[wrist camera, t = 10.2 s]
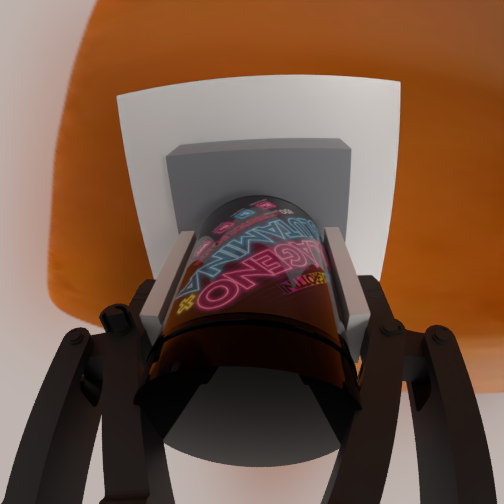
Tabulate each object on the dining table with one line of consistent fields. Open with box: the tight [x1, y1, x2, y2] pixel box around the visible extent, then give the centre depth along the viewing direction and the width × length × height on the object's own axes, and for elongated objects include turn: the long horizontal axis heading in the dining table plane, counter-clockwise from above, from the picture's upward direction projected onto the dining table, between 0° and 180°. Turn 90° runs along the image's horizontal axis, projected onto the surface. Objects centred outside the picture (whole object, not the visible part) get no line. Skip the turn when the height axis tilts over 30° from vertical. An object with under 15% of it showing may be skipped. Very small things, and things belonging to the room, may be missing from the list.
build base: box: [117, 75, 400, 281], centre depth 20 cm, size 18×18×4 cm
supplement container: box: [133, 195, 363, 467], centre depth 12 cm, size 7×7×10 cm
